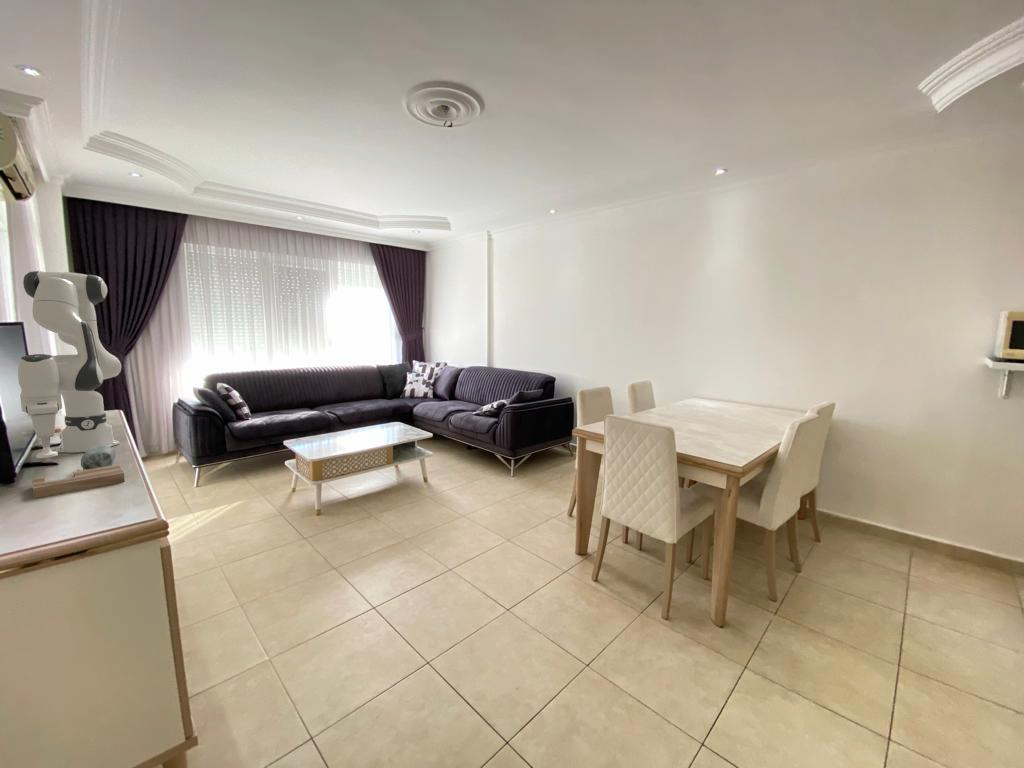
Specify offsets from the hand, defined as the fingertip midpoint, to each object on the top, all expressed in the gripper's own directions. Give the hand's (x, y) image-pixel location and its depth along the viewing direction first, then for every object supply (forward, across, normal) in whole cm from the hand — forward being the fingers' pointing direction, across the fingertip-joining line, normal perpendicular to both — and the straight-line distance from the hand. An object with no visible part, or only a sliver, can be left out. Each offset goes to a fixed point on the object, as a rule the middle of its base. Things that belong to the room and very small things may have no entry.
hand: (46, 445), depth 138 cm
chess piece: (+4, 0, 0) cm, 4 cm away
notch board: (+11, +13, +6) cm, 19 cm away
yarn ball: (+12, -2, +12) cm, 17 cm away
